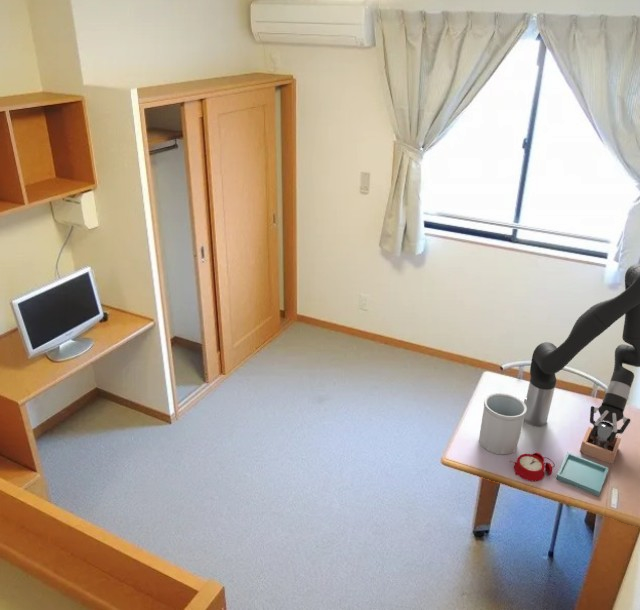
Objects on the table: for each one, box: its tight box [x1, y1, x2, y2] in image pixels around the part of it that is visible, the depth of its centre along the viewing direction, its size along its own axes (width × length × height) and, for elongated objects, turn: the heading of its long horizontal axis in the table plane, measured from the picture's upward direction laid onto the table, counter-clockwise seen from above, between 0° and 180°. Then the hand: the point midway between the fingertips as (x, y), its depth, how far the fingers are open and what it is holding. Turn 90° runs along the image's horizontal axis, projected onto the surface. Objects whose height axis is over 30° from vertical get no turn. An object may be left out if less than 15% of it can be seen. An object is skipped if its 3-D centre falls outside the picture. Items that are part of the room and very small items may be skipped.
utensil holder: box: [479, 392, 527, 455], centre depth 216 cm, size 15×15×18 cm
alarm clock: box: [509, 452, 555, 482], centre depth 206 cm, size 10×6×15 cm
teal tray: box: [555, 452, 610, 497], centre depth 205 cm, size 14×14×2 cm
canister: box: [592, 421, 614, 450], centre depth 215 cm, size 5×5×11 cm
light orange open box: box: [579, 426, 622, 464], centre depth 217 cm, size 11×11×4 cm
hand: (601, 439), depth 213 cm, fingers closed on canister, 5 cm apart
